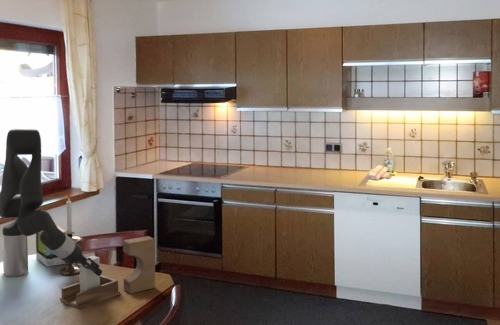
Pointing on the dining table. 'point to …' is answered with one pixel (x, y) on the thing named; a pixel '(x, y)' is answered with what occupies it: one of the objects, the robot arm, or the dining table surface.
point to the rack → (90, 293)
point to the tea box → (47, 252)
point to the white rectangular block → (89, 276)
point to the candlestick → (78, 239)
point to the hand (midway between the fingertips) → (93, 271)
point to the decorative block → (140, 264)
